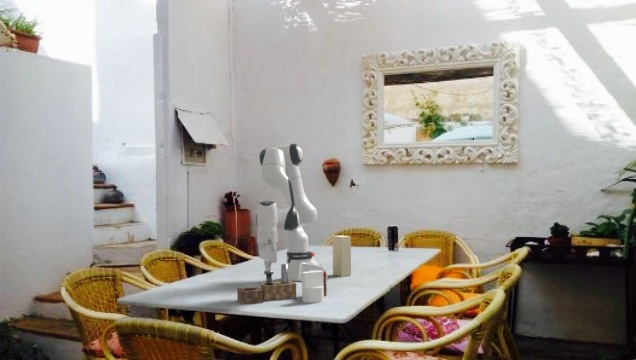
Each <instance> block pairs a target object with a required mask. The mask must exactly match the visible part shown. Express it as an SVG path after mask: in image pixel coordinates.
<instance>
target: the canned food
mask: <svg viewBox="0 0 636 360" xmlns="http://www.w3.org/2000/svg"><path fill="white" fill-rule="evenodd" d="M320 270H321V271H323V283H324V297H326V296H327V293H328V292H327V291H328V290H327V279H326V275H327V270H326V269H324V268H323V269H311V270H309V271H320Z"/></svg>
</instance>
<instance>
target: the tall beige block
mask: <svg viewBox="0 0 636 360" xmlns="http://www.w3.org/2000/svg"><path fill="white" fill-rule="evenodd" d="M351 238H352V236H351V235H340V234H339V235H333V236H332V275H333V276H336V275H337V277H340V276H344V277H348V276H347V275H351V276H352V239H351Z"/></svg>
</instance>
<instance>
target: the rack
mask: <svg viewBox="0 0 636 360" xmlns="http://www.w3.org/2000/svg"><path fill="white" fill-rule="evenodd" d="M236 291H237V295H236V296H237V297H236V298H237V301H238V303H239V304H240V305H249V304H251V305H252V304H258V303H259V304H260V303H261V304H262V303H264V300H263V290H262V289H260V287H259V286H251V287H248V286H247V287H239V288H238V287H237V289H236Z"/></svg>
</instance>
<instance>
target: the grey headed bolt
mask: <svg viewBox="0 0 636 360" xmlns="http://www.w3.org/2000/svg"><path fill="white" fill-rule="evenodd" d="M274 273H275V272H274V270H271V271H268V272H267V271H266V270H264V272H263V274H264V275H265V280H266V281H265V283H266V285H272V282H273V278H272V276H273V274H274Z"/></svg>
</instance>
